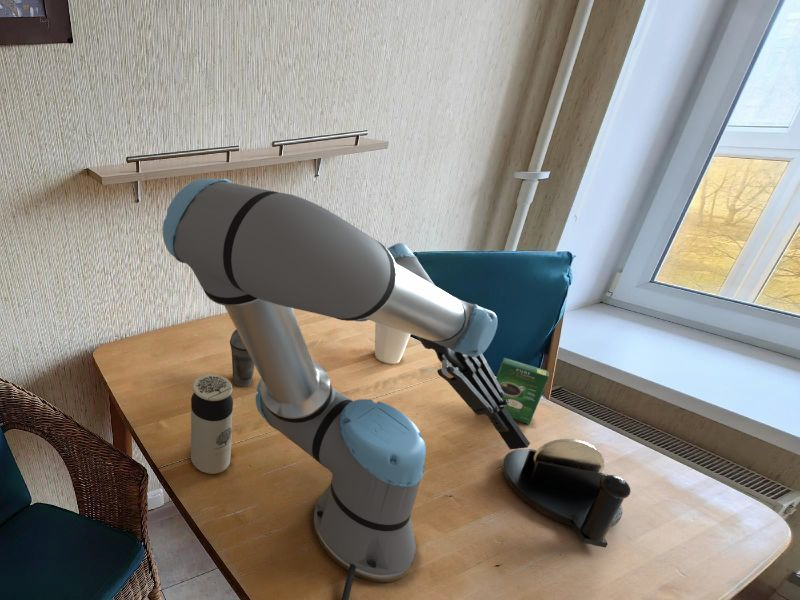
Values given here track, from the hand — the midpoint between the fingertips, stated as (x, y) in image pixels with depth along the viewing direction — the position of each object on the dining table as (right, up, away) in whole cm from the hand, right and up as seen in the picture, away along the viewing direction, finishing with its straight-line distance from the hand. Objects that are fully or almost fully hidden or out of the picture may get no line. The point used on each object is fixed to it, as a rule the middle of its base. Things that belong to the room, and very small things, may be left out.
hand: (520, 446), depth 72 cm
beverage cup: (-39, 0, +38) cm, 55 cm away
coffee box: (+18, -4, +25) cm, 31 cm away
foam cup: (+3, +4, +47) cm, 47 cm away
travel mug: (-50, -9, +15) cm, 53 cm away
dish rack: (+11, -10, +4) cm, 16 cm away
